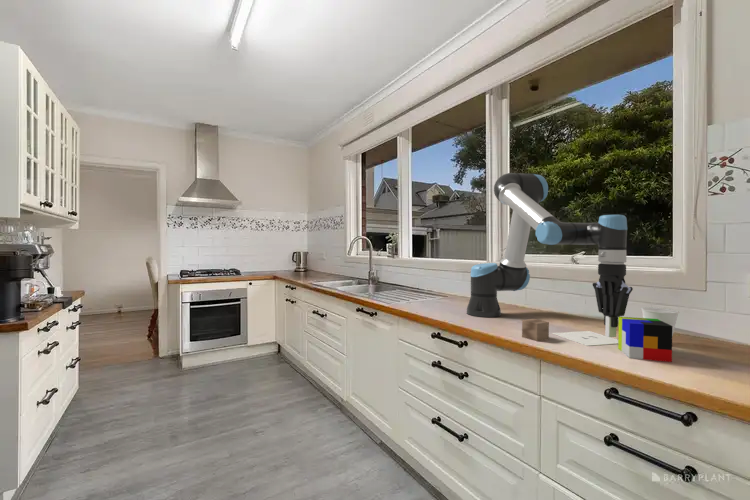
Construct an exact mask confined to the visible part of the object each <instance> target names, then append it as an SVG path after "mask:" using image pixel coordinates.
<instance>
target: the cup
mask: <svg viewBox="0 0 750 500" xmlns="http://www.w3.org/2000/svg"><path fill="white" fill-rule="evenodd" d="M640 310H641V313H642V318H650V319H658V320H661V321H663V322H665V323H667V324H669V325H671V326H672V338H673V337H674V336H673V335H674V333H675V327H676V324H677V319H678V315H679V314H680V312H679V311H678V310H676V309H671V308H665V307H664V308H662V307H652V306H651V307H649V306H648V307H647V306H646V307H640Z"/></svg>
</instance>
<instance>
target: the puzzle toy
mask: <svg viewBox="0 0 750 500" xmlns="http://www.w3.org/2000/svg"><path fill="white" fill-rule="evenodd" d="M617 333H618V337H617V338H618V344H617V347H618V348H617V349H618V350H619V351H620V352H621V353H623V354H624V355H625V356H626V357H627V358H629V359H634V360H635V359H636V360H645V361H657V362H667V363H672V360H673V337H672V326H671V325H669V324H667V323H665V322H663V321H661V320H658V319H650V318H643V317H633V316H632V317H631V316H629V317H628V316H619V317H618V331H617Z"/></svg>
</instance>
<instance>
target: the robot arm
mask: <svg viewBox="0 0 750 500" xmlns="http://www.w3.org/2000/svg"><path fill="white" fill-rule="evenodd" d="M548 194H549V185H548V182H547V180H546V178H545V177H544V176H543V175H540V174H535V173H521V172H520V173H515V172H509V173H505V174H502V175H500V176H499V177H497V180H496V181H495V182H494V186H493V195H494V196H495V198H496V199H497V200H498V202H500V203H501V204H502V205H507V206H508V207H509V208H510V209H512V212H511V213H512V214H511V219H510V223H509V224H510V225H509V229H508V230H509V231H508V236H507V240H506V246H505V252H504V257H503V258H502V259H500V260H499V264H497V263H495V262H488V263H486V262H485V263H477V264H474V265H473V266H471V268H470V297H469V299H468V300H469V301H468V302H467V306H466V314H467V315H469V316H473V317H480V318H497V317H500V316H502V314H501V313H502V312H501V311H502V309H501V307H500V304H499V301H498V292H505V291H506V292H507V291H509V292H511V291H513V292H516V291H521V290H522V291H523V290H525V288H526V287H527V286H528V285H529V283H530V277H531V274H530V270H529V269H528V267H527V263H526V262H525V257H526V252H527V251H526V250H527V247H528V246H527V245H528V241H529V237H530V232H531V228H532V229H533V230H534V231H535V237H536V238H537V242H539V243H540V244H543V245H549V246H553V245H576V246H585V245H590V246H591V245H597V246H598V254H597V255H598V260H597V261H598V262H599V264H598V265H597V267H598V268H597V274H598V275H599V278H598V281H597V282H592V287H593V289H594V293H595V298H596V305H597V309H598V313H601V314H602V315H603V325H604V326H605V327H604V328H605V329H604V330H605V332H604V333H605V334H604V335H605V336H606V337H611V338H617V328H619V317H625V314H626V311H627V310H626V309H627V306H628V302H629V298H630V294H631V293H632V291H634V287H632V286H629V285H628V284H626V280H625V277H626V275H627V265H626V264H625V263H627V237H628V221H627V217H626V216H625V215H624V214H603V215H600V216H599V218H598V221H597V222H565V221H560V220H559V219H557V217H555V216H554V215H553V214H551V213H550V212H549V211H548V210H546V209H545V208H544V207H543V206H541V205H540V203H541V202H543V201H545V199H546V198H547V197H548Z"/></svg>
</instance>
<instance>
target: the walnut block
mask: <svg viewBox="0 0 750 500" xmlns="http://www.w3.org/2000/svg"><path fill="white" fill-rule="evenodd" d="M521 321H522V322H521V337H522V338H524V339H528V340H531V341H534V342H535V341H536V342H542V341H546V340H549V339H550V337H549V335H550V333H549V332H550V321H546V320H542V319H536V318H528V319H523V320H521Z"/></svg>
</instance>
